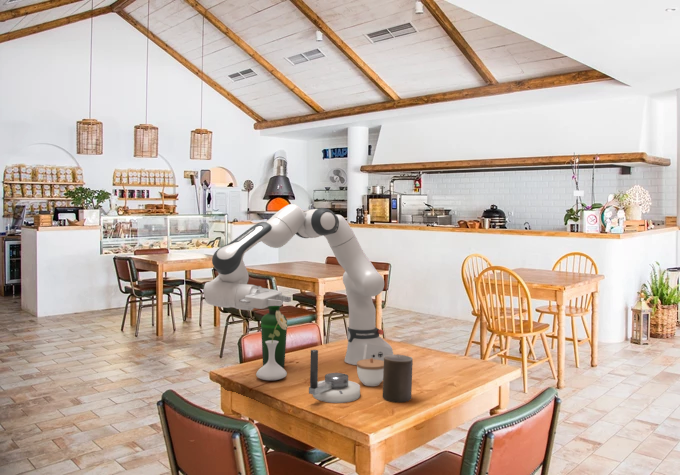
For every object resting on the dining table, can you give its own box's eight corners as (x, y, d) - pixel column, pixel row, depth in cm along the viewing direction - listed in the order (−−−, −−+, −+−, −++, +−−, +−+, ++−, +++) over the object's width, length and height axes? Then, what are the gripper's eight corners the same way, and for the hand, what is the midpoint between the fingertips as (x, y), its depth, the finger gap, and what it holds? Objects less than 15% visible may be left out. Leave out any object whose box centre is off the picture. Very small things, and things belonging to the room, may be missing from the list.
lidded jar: (365, 389, 203) (366, 363, 203) (351, 381, 213) (351, 356, 212) (391, 386, 208) (392, 360, 208) (376, 378, 218) (376, 353, 217)
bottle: (289, 364, 235) (290, 295, 233) (284, 371, 224) (285, 299, 223) (263, 363, 236) (264, 295, 234) (257, 370, 225) (257, 299, 224)
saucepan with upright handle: (334, 379, 203) (335, 340, 202) (353, 384, 198) (353, 343, 197) (302, 391, 189) (302, 349, 188) (321, 396, 184) (321, 353, 183)
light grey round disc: (351, 386, 207) (351, 377, 207) (366, 400, 192) (366, 391, 192) (307, 389, 202) (307, 380, 202) (320, 404, 187) (320, 394, 187)
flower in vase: (273, 385, 207) (274, 315, 206) (249, 379, 213) (250, 312, 212) (295, 376, 218) (296, 310, 217) (271, 371, 224) (272, 307, 223)
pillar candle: (391, 404, 189) (392, 358, 188) (377, 395, 198) (378, 351, 197) (417, 400, 193) (418, 356, 192) (402, 392, 202) (403, 349, 201)
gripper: (237, 291, 190) (277, 295, 187) (259, 285, 210) (295, 288, 207) (235, 310, 190) (275, 315, 187) (257, 302, 210) (294, 306, 207)
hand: (286, 301), depth 197 cm, fingers open, 8 cm apart
